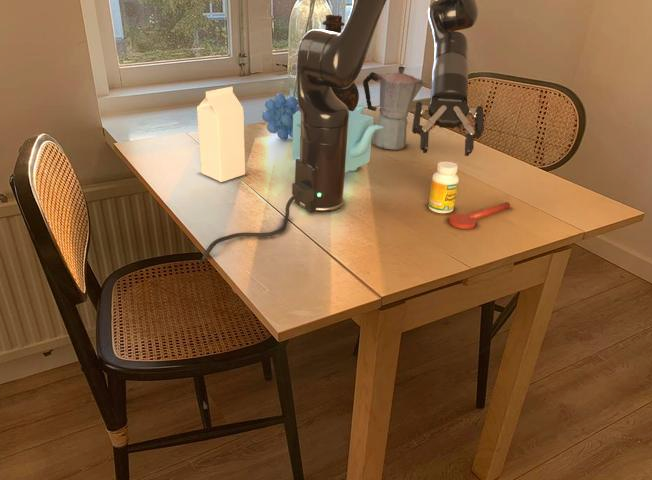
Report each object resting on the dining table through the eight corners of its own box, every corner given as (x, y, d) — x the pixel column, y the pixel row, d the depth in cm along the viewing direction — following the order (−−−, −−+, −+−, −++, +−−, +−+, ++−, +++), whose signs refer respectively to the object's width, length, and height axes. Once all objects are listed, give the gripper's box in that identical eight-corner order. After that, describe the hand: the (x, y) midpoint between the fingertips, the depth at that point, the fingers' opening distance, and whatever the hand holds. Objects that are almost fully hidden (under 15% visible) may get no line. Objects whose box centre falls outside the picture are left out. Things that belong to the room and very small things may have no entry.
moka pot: (418, 152, 150) (429, 72, 139) (358, 149, 150) (365, 69, 139) (414, 140, 158) (424, 63, 148) (357, 137, 158) (363, 60, 147)
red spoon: (498, 203, 125) (500, 197, 124) (518, 212, 122) (519, 206, 121) (443, 221, 117) (444, 214, 116) (462, 231, 113) (464, 224, 112)
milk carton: (245, 175, 133) (243, 89, 123) (221, 183, 128) (216, 95, 118) (225, 166, 137) (221, 83, 127) (201, 173, 132) (195, 88, 122)
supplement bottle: (437, 201, 125) (444, 158, 120) (458, 209, 122) (466, 165, 116) (422, 207, 122) (429, 164, 116) (443, 216, 118) (451, 171, 113)
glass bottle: (291, 110, 178) (293, 9, 163) (347, 108, 182) (354, 10, 167) (304, 128, 163) (307, 19, 148) (364, 126, 167) (374, 20, 152)
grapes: (265, 145, 150) (265, 98, 143) (260, 137, 155) (260, 91, 149) (309, 143, 153) (310, 97, 146) (303, 135, 158) (304, 90, 152)
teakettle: (289, 154, 145) (290, 94, 137) (363, 154, 147) (369, 95, 139) (295, 184, 129) (296, 118, 121) (378, 184, 131) (384, 119, 123)
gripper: (418, 69, 119) (414, 142, 115) (488, 73, 118) (486, 147, 115) (413, 89, 126) (409, 158, 123) (479, 93, 126) (477, 163, 122)
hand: (446, 152), depth 119 cm, fingers open, 8 cm apart
